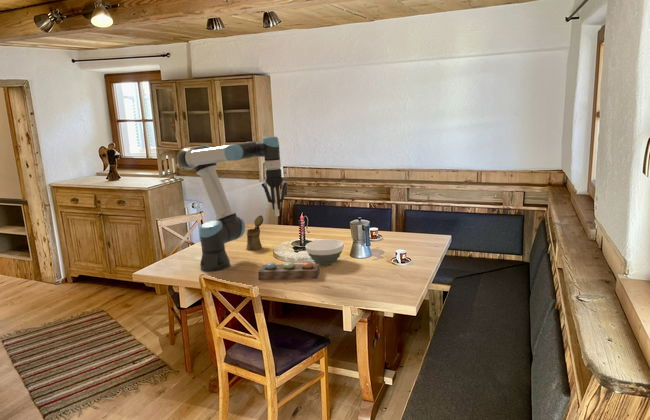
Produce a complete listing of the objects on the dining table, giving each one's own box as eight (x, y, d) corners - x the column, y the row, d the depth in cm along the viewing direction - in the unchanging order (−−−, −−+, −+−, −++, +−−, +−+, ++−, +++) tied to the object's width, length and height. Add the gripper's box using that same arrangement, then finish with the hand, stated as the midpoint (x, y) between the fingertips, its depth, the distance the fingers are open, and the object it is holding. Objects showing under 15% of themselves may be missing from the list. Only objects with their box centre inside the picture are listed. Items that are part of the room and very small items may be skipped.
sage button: (283, 274, 221) (282, 265, 220) (285, 271, 226) (285, 262, 225) (293, 274, 221) (292, 265, 220) (295, 271, 225) (294, 262, 224)
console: (258, 279, 221) (257, 271, 220) (264, 272, 230) (263, 264, 230) (317, 278, 217) (316, 270, 216) (320, 271, 227) (319, 263, 226)
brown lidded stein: (269, 244, 279) (267, 215, 276) (255, 251, 268) (252, 220, 265) (258, 243, 284) (255, 214, 280) (243, 249, 273) (240, 219, 269)
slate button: (265, 275, 223) (264, 266, 222) (267, 271, 227) (266, 262, 226) (275, 274, 222) (274, 265, 221) (277, 271, 227) (276, 262, 226)
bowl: (323, 254, 254) (322, 237, 252) (352, 259, 241) (351, 242, 239) (298, 264, 239) (297, 246, 237) (328, 271, 227) (327, 252, 225)
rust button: (302, 274, 220) (301, 265, 219) (304, 270, 225) (303, 262, 224) (312, 274, 219) (311, 265, 219) (313, 270, 224) (313, 261, 223)
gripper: (258, 170, 225) (262, 218, 230) (284, 169, 223) (288, 217, 228) (262, 168, 232) (266, 214, 237) (287, 167, 231) (291, 213, 235)
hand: (277, 215), depth 233 cm, fingers closed
